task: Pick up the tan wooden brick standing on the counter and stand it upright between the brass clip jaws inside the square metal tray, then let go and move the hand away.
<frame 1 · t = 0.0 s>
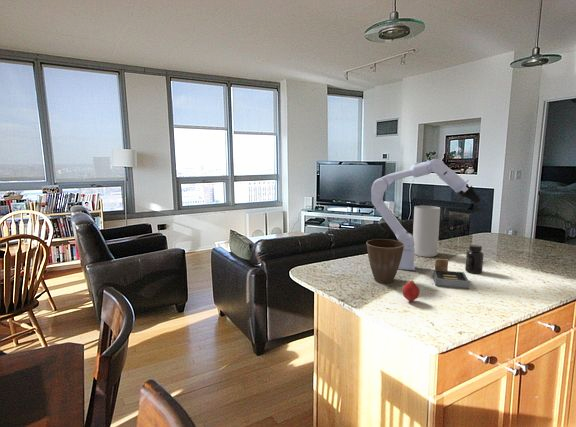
hand: (476, 200, 152), 32 cm above the countertop, tool tilted 50°, fingers open, 7 cm apart
onion: (410, 302, 126), on the countertop
square metal tray: (449, 282, 145), on the countertop
cylinder vase: (424, 254, 188), on the countertop
tan wooden brick: (440, 272, 158), on the countertop
plant pot: (383, 280, 148), on the countertop
supplement bottle: (473, 272, 159), on the countertop
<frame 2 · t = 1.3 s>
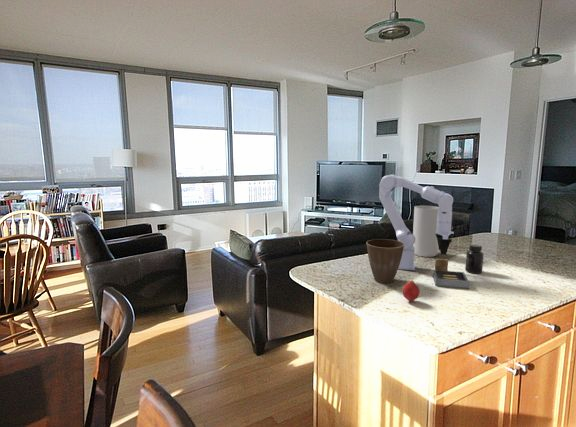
hand: (442, 251, 157), 9 cm above the countertop, tool pointing down, fingers open, 7 cm apart
nothing on the countertop moved.
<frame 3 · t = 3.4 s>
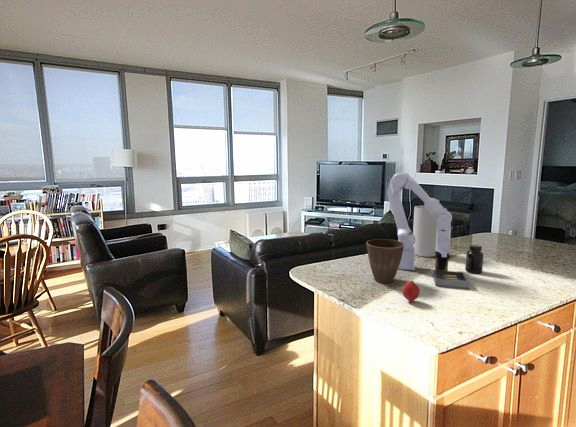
hand: (441, 268, 158), 2 cm above the countertop, tool pointing down, fingers closed on tan wooden brick, 1 cm apart
tan wooden brick: (441, 272, 158), on the countertop, touching gripper
everything else where it was.
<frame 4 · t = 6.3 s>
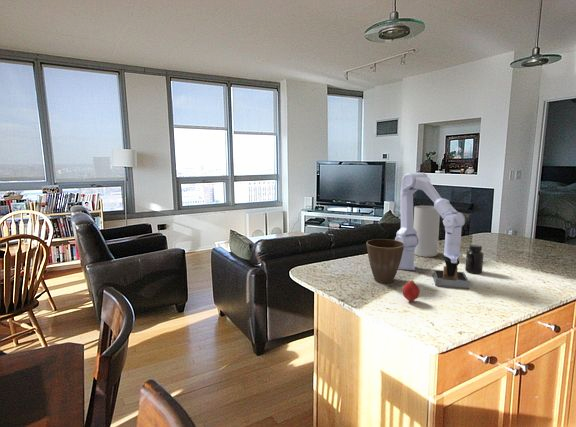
hand: (450, 275, 145), 3 cm above the countertop, tool pointing down, fingers closed on tan wooden brick, 1 cm apart
tan wooden brick: (449, 281, 145), point 1 cm above the countertop, touching square metal tray, gripper
everything else where it was.
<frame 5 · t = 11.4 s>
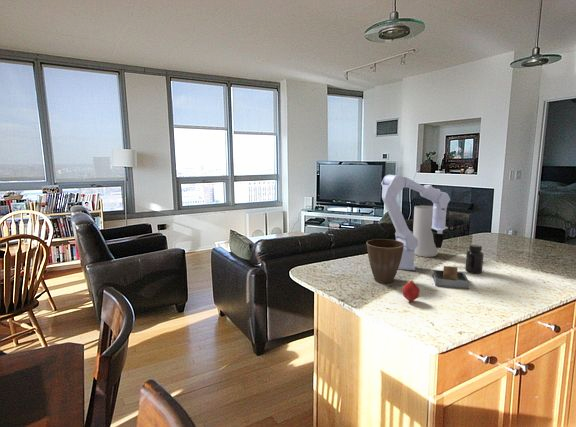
hand: (437, 245, 167), 9 cm above the countertop, tool pointing down, fingers open, 7 cm apart
tan wooden brick: (449, 281, 145), point 1 cm above the countertop, touching square metal tray
everything else where it was.
at the end: tan wooden brick 0.1 cm off-centre on the square metal tray, point 0.6 cm above the square metal tray's base; tan wooden brick tilted 0°; the gripper is holding nothing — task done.
